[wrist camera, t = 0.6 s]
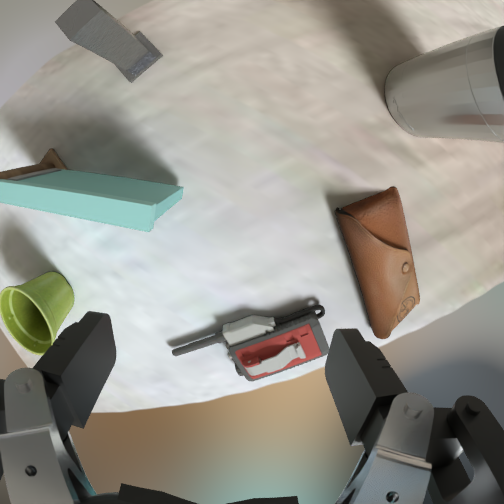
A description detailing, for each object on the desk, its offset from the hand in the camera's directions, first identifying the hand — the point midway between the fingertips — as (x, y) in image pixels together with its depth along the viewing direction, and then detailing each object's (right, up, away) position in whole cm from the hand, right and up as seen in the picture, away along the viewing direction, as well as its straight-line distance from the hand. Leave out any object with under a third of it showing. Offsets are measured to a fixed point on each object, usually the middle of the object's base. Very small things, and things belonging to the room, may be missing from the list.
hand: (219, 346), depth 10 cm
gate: (-13, +11, +18) cm, 25 cm away
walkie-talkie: (+1, -8, +27) cm, 28 cm away
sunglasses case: (+17, +2, +24) cm, 29 cm away
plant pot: (-26, -2, +24) cm, 35 cm away
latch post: (-11, +24, +14) cm, 30 cm away
